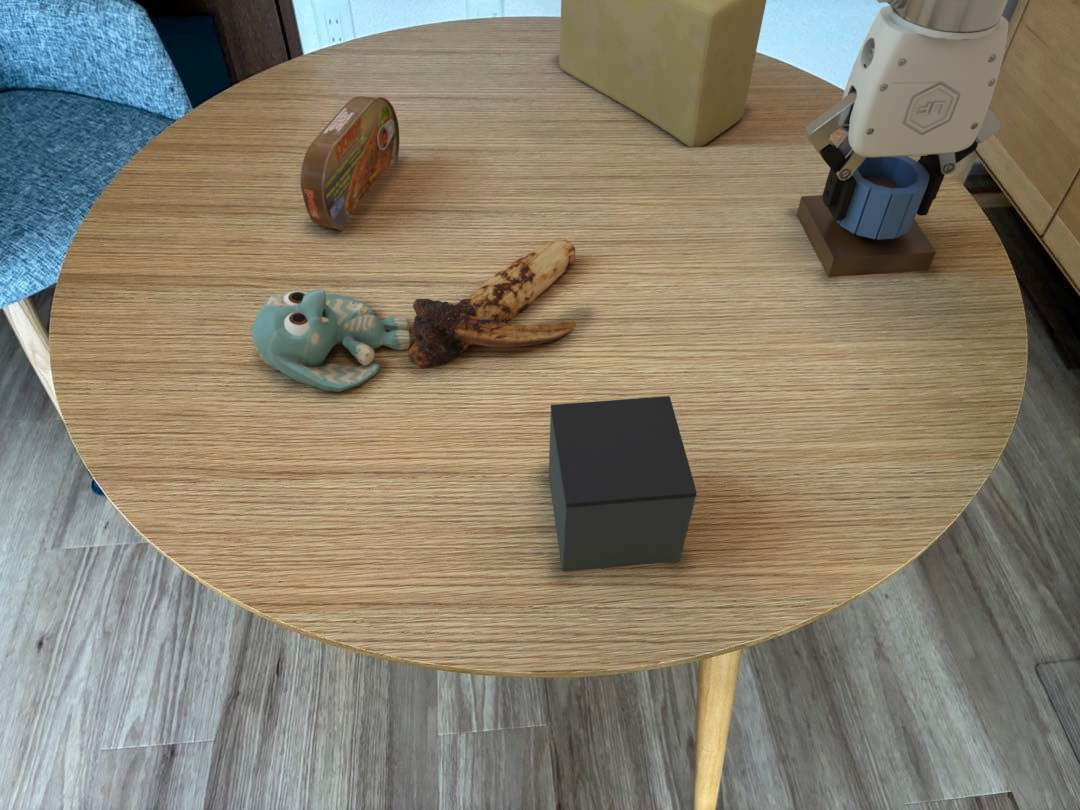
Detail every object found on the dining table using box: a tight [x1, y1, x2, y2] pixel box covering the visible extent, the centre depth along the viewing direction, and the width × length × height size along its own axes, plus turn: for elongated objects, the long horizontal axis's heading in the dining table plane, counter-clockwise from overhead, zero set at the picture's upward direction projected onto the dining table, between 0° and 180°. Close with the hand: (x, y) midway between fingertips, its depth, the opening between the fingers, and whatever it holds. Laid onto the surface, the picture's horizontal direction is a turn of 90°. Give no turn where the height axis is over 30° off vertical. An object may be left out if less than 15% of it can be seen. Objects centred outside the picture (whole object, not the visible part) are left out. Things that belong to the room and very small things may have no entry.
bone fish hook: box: [408, 239, 577, 370], centre depth 69 cm, size 9×5×18 cm
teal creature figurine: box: [250, 289, 413, 393], centre depth 66 cm, size 11×7×12 cm
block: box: [548, 395, 698, 572], centre depth 55 cm, size 8×8×8 cm
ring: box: [837, 156, 930, 240], centre depth 73 cm, size 7×7×4 cm
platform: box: [796, 175, 937, 278], centre depth 75 cm, size 9×9×7 cm
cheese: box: [558, 0, 767, 149], centre depth 89 cm, size 22×10×15 cm, turn 48°
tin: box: [300, 95, 400, 232], centre depth 79 cm, size 15×3×8 cm, turn 162°
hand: (875, 207), depth 74 cm, fingers closed on ring, 6 cm apart
